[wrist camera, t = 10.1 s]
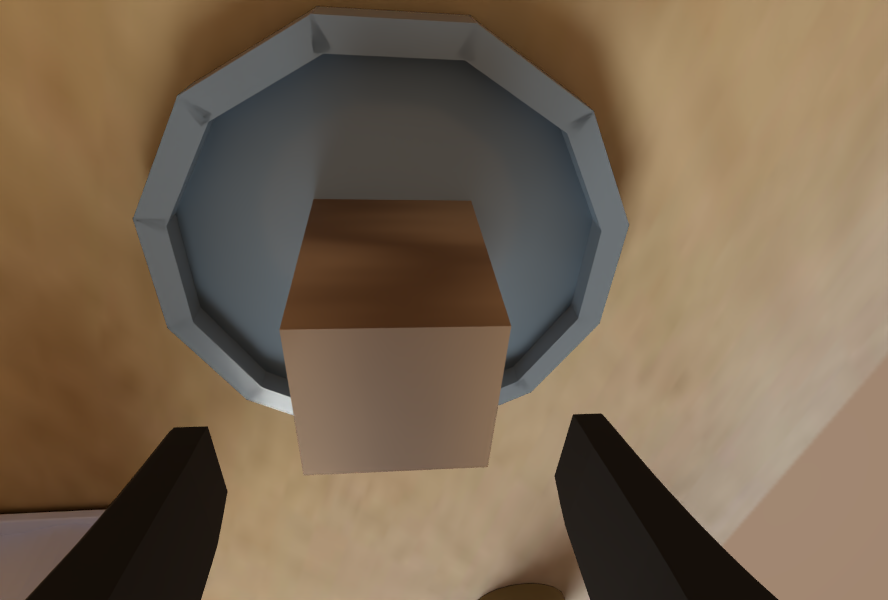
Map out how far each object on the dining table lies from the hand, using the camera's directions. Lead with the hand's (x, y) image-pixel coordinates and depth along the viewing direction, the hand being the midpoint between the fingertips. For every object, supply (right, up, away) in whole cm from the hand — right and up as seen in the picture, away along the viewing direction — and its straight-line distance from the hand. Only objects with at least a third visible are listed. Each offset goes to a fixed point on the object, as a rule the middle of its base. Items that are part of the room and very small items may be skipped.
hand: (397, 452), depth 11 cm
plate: (-1, +5, +6) cm, 8 cm away
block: (-1, +4, +6) cm, 7 cm away
